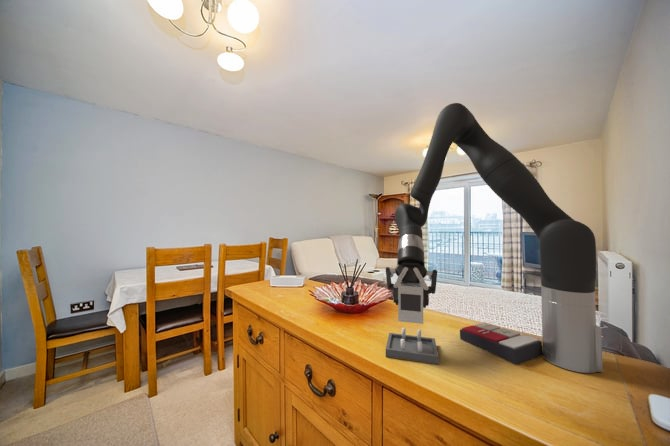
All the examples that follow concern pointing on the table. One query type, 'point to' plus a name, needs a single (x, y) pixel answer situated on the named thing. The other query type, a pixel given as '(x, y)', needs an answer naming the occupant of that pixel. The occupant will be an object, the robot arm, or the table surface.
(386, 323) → the table surface
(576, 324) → the robot arm
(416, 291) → the drive
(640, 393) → the table surface
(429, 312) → the table surface
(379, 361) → the table surface
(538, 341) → the red and grey box
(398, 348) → the tray
